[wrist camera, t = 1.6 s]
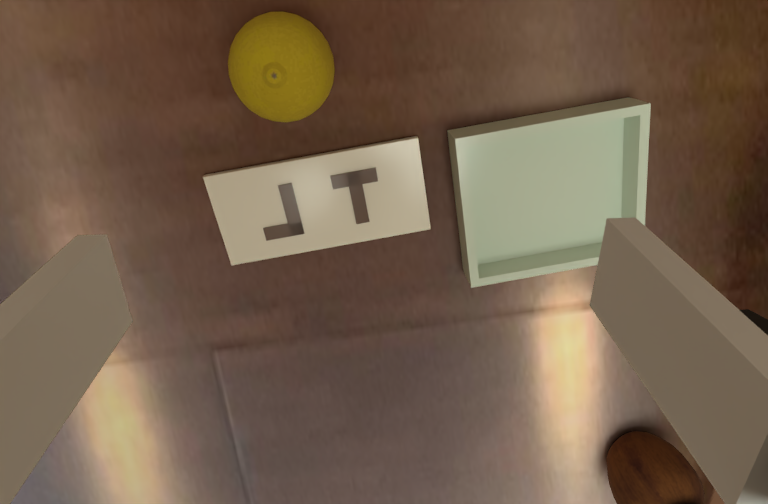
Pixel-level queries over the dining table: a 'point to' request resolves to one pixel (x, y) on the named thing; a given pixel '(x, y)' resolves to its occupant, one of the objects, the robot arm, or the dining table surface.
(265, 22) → the lemon
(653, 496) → the wooden figurine
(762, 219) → the dining table surface
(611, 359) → the dining table surface
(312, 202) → the tile
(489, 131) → the dish
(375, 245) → the dining table surface
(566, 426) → the dining table surface
